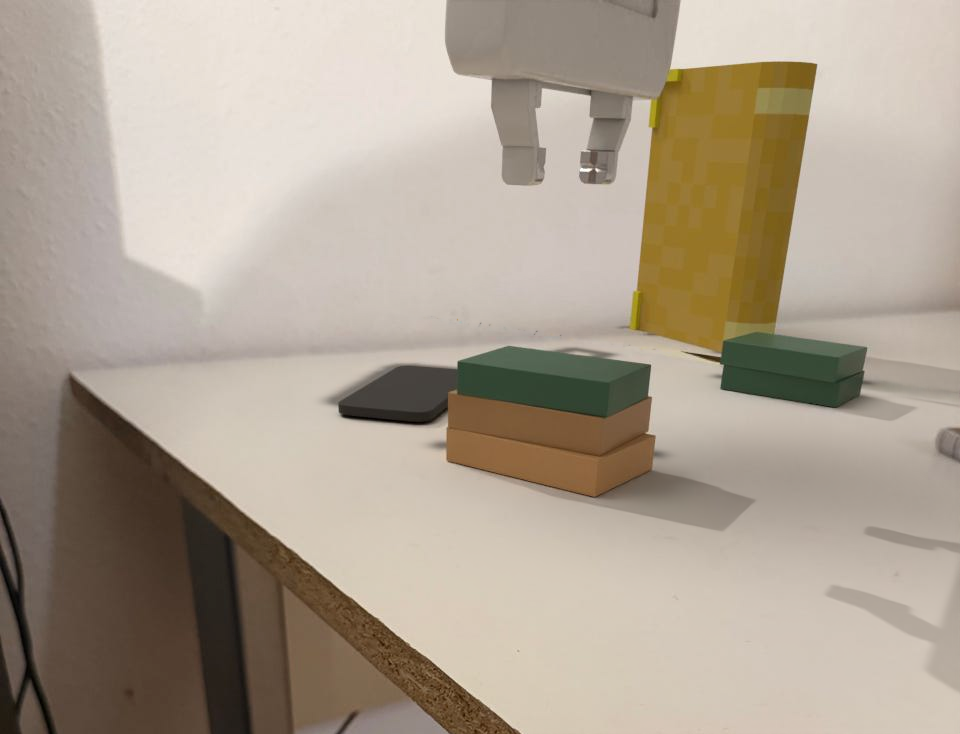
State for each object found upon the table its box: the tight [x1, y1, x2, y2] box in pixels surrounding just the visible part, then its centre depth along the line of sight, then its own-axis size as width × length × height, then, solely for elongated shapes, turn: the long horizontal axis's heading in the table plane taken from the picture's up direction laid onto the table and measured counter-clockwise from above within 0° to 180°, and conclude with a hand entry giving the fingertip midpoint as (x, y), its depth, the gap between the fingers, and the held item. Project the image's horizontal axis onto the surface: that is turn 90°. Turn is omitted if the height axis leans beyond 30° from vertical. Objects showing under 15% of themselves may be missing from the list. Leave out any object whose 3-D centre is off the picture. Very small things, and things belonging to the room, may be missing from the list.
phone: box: [337, 365, 457, 423], centre depth 75 cm, size 7×1×15 cm
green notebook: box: [456, 345, 652, 418], centre depth 58 cm, size 10×6×2 cm, turn 60°
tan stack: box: [445, 390, 657, 498], centre depth 60 cm, size 11×8×4 cm
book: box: [629, 60, 818, 363], centre depth 92 cm, size 17×7×25 cm, turn 27°
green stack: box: [719, 332, 868, 408], centre depth 81 cm, size 10×7×4 cm
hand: (562, 184), depth 53 cm, fingers open, 8 cm apart
